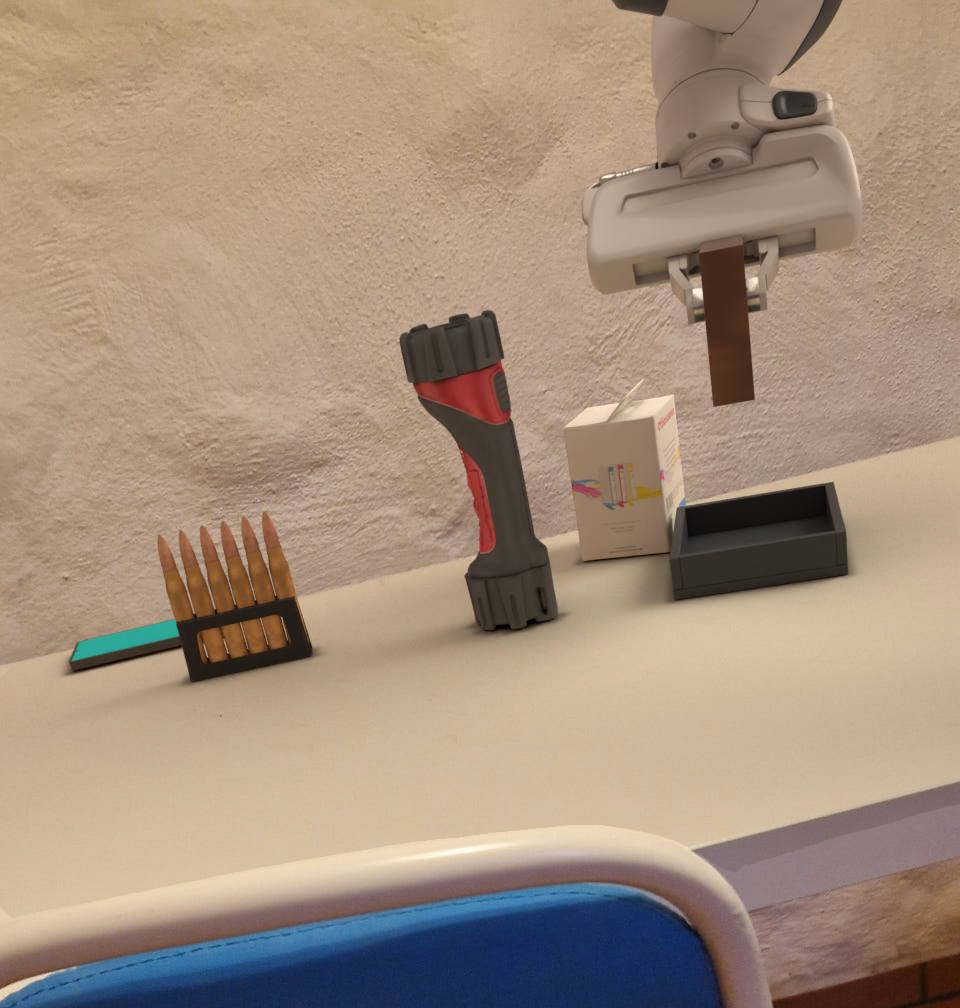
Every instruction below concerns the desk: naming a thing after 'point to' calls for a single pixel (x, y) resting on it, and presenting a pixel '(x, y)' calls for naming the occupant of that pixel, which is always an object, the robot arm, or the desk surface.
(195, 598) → the ammunition clip
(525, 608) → the flashlight
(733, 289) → the walnut block
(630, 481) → the ink box
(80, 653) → the smartphone
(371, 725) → the desk surface
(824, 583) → the desk surface
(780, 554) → the dark gray tray
